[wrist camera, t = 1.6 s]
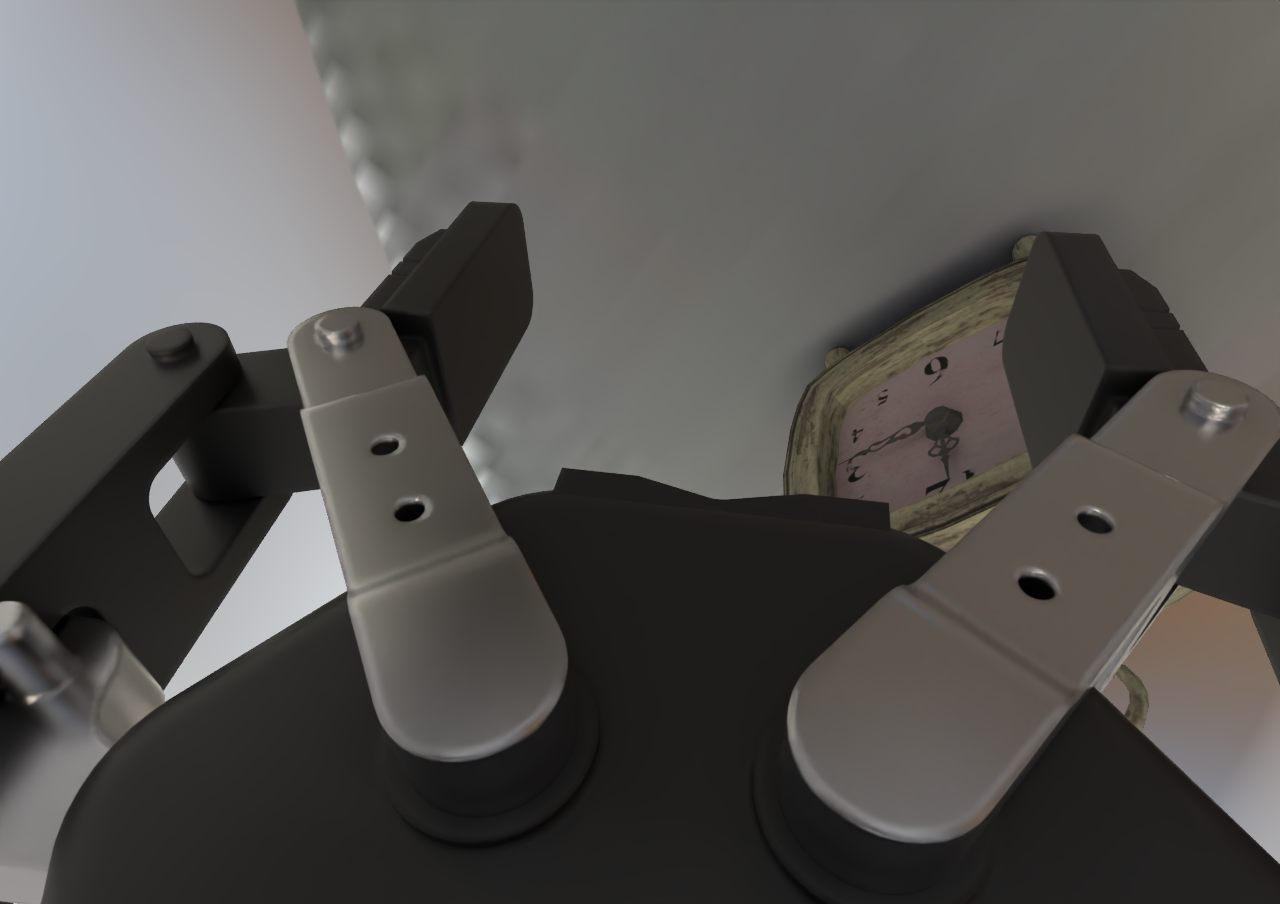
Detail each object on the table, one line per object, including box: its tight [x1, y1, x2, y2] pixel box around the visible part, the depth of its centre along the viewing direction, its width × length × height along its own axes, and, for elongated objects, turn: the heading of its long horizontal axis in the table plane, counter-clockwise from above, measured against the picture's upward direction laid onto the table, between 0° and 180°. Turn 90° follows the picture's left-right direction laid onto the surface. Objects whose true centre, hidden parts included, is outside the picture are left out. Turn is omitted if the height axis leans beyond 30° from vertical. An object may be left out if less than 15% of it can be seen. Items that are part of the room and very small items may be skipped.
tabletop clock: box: [783, 235, 1194, 731], centre depth 32 cm, size 14×9×25 cm, turn 133°
